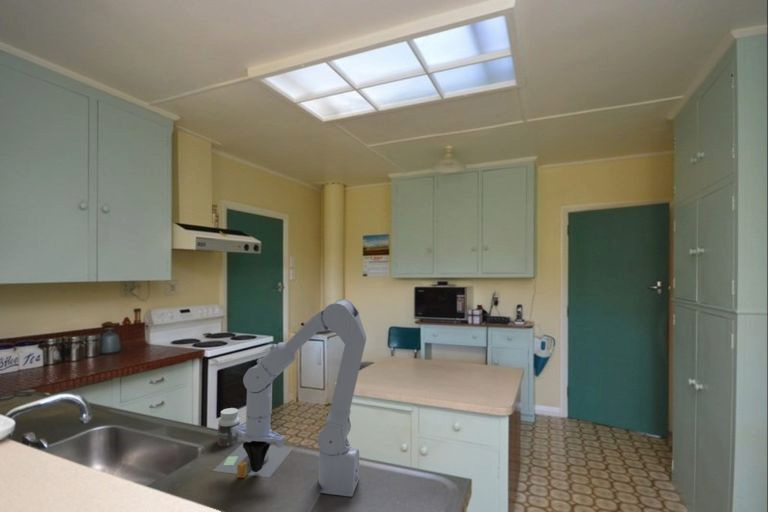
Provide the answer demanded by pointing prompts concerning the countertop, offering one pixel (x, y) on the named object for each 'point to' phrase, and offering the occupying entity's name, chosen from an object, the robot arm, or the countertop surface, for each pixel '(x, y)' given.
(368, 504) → the countertop surface
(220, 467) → the board
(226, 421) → the pill bottle
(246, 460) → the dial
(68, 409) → the countertop surface
